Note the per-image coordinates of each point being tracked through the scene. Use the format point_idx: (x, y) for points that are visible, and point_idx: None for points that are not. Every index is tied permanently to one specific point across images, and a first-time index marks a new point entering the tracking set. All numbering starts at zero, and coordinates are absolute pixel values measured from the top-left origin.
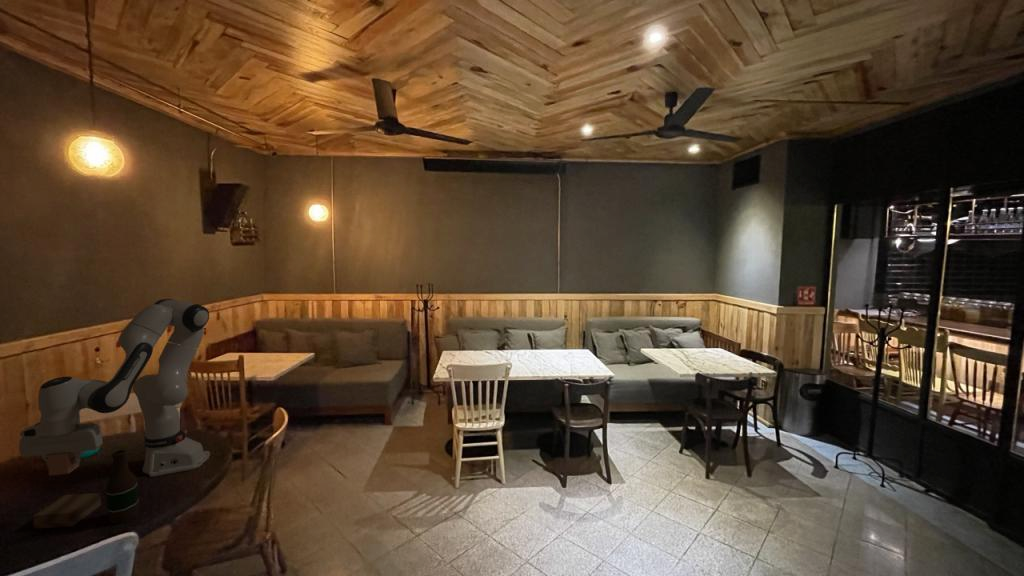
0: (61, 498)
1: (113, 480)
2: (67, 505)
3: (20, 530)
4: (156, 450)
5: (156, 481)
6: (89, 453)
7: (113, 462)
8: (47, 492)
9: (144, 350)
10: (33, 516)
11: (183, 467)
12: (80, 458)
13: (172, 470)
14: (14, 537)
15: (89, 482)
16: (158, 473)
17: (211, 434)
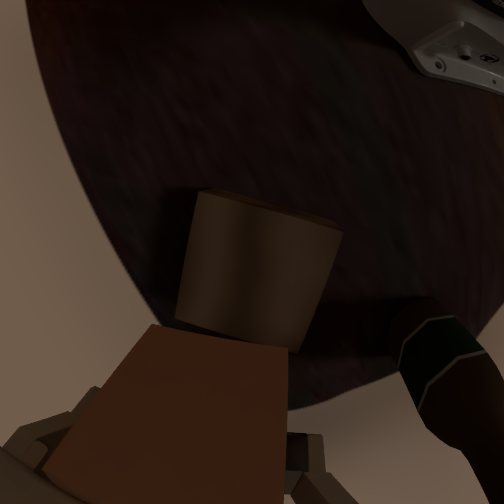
0: (201, 221)
1: (455, 447)
2: (256, 293)
3: (158, 289)
4: (474, 12)
5: (450, 119)
6: None
7: (485, 494)
8: (110, 70)
9: None
10: (177, 317)
11: (496, 80)
12: (323, 453)
13: (477, 81)
14: (167, 319)
15: (208, 27)
16: (446, 76)
17: None
